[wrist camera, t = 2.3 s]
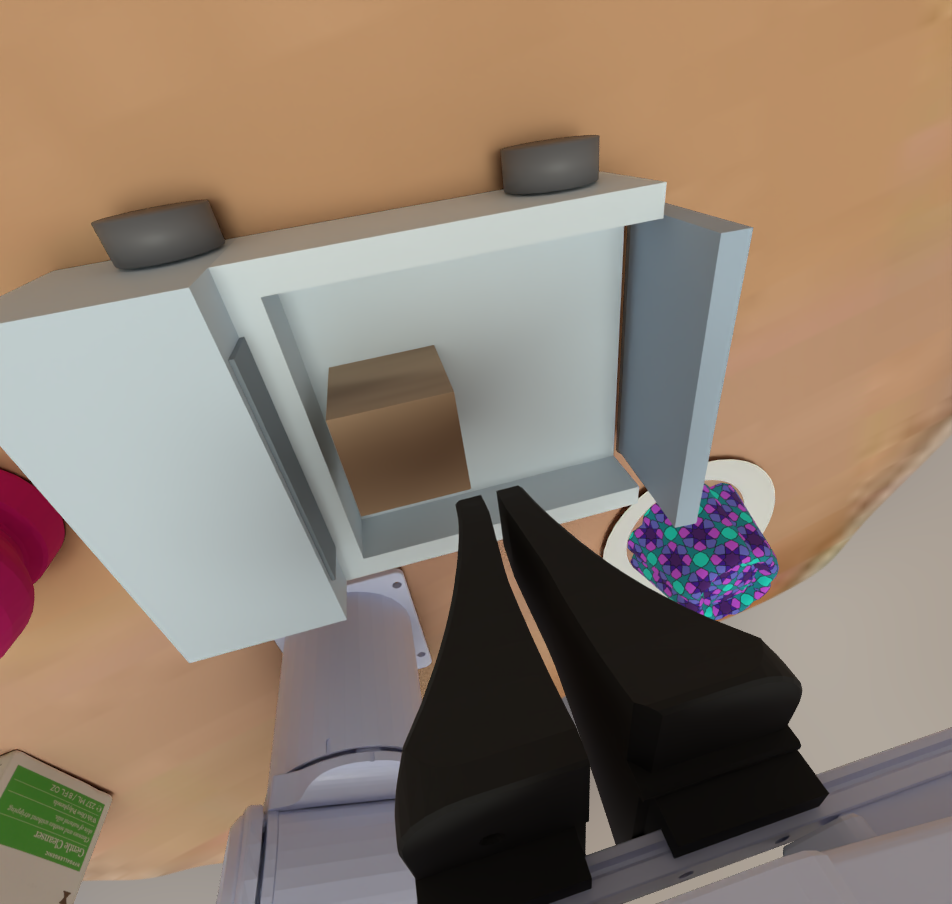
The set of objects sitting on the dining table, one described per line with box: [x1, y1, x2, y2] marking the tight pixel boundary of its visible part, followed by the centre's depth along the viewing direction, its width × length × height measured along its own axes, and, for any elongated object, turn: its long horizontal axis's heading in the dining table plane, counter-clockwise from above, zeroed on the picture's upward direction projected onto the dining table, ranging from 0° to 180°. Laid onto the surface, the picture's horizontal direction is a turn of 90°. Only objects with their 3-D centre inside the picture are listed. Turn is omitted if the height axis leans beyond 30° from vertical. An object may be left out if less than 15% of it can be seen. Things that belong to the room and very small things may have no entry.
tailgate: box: [616, 203, 753, 528], centre depth 18 cm, size 11×6×1 cm
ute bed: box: [0, 135, 667, 663], centre depth 18 cm, size 16×19×6 cm
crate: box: [326, 345, 471, 517], centre depth 17 cm, size 4×4×4 cm
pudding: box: [603, 459, 779, 620], centre depth 29 cm, size 12×12×5 cm
